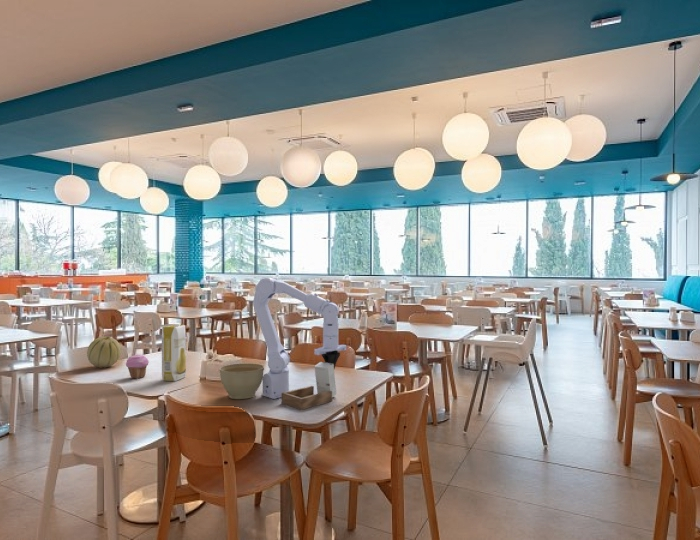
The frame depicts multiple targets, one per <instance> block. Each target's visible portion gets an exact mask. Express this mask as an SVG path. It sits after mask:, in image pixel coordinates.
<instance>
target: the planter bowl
mask: <svg viewBox="0 0 700 540" xmlns="http://www.w3.org/2000/svg"><path fill="white" fill-rule="evenodd" d="M264 371H265V366H264V365H263V364H261V363H251V362H250V363H245V362H244V363H243V362H242V363H232V364H231V363H230V364H226V365H222V366H221V367H219V373H220V374H219V375H220V381H221V385H222V387H223V388H224V390H225V391H226V393H228V394H227V395H228V398H230V399H232V400H233V399H234V400H246V399H251V398H254V397H255V396H256V392H257V391H258V389H259V388H260V387H261V384H262V383H263V376H264Z"/></svg>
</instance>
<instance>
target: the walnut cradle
mask: <svg viewBox="0 0 700 540" xmlns="http://www.w3.org/2000/svg"><path fill="white" fill-rule="evenodd" d="M314 389H315V388H314V385H310V386H305V387H300V388H297V389H296V388H295V389H292V390H289V391H287V392H283V393H282V397H281V404H284V405H285V406H289V407H292V408H295V409H298V410H305V409H309V408H312V407H317V406H319V405H323V404H327V403H331V402H333V397H332V391H327V392H323V393H319V394H317V393H316V394H315V393H314V391H315V390H314Z"/></svg>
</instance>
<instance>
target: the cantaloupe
mask: <svg viewBox="0 0 700 540" xmlns="http://www.w3.org/2000/svg"><path fill="white" fill-rule="evenodd" d="M121 352H122V347H121V344H120V343H119V342H118V340H117V339H115V338H114V337H111V336H110V335H108V336H100V337H97V338H95V339H94V340H93V341H91V342H90V343H89V345H88V347H87V350H86V356H87V360H88V362H89V363H90V364H91V365H93V367H96V368H102V367H104V368H108V367H112V366H114V365H115V364H117V362H118V361H119V360H120V357H121Z"/></svg>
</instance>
